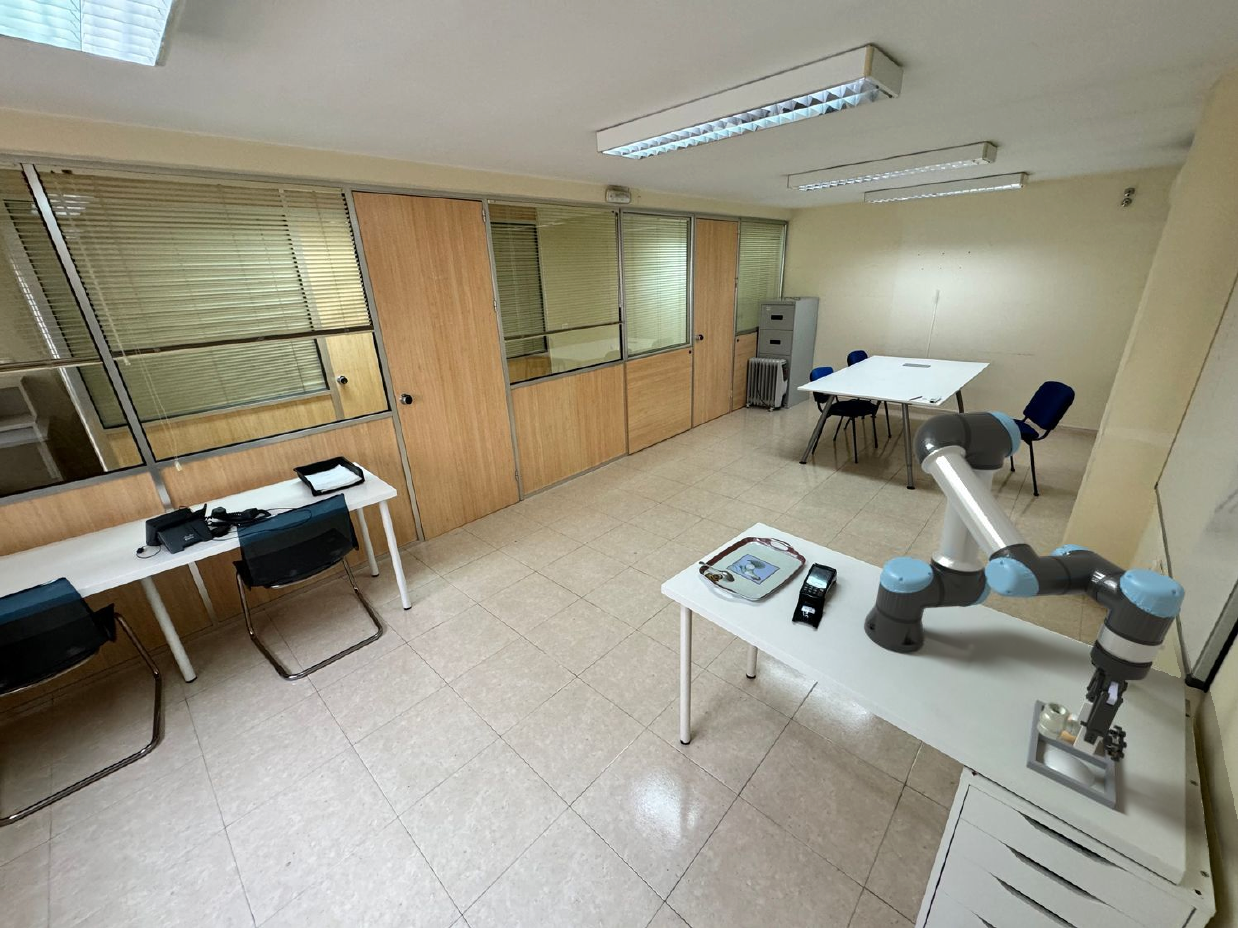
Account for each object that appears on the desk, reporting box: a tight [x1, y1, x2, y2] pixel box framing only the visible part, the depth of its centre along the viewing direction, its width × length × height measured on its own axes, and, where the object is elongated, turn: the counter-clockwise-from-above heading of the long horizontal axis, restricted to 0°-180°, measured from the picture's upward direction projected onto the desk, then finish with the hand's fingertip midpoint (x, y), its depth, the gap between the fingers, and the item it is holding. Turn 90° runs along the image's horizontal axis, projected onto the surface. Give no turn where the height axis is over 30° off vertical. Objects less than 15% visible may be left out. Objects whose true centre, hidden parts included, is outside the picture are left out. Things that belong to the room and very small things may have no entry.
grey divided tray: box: [1025, 699, 1117, 810], centre depth 103 cm, size 13×20×3 cm, turn 137°
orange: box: [1059, 712, 1079, 745], centre depth 105 cm, size 6×6×6 cm
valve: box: [1037, 701, 1128, 763], centre depth 96 cm, size 7×7×12 cm
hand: (1083, 738), depth 96 cm, fingers closed on valve, 6 cm apart
